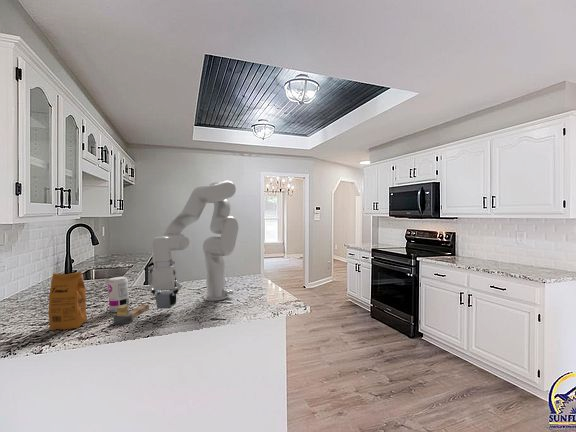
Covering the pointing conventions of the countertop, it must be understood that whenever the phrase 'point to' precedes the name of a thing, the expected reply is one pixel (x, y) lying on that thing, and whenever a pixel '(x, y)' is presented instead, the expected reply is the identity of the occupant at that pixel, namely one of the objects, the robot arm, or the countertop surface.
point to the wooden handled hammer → (128, 314)
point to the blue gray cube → (164, 300)
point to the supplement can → (118, 293)
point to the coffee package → (67, 301)
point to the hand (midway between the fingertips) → (166, 303)
